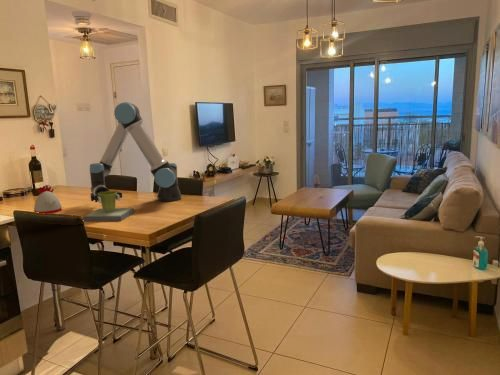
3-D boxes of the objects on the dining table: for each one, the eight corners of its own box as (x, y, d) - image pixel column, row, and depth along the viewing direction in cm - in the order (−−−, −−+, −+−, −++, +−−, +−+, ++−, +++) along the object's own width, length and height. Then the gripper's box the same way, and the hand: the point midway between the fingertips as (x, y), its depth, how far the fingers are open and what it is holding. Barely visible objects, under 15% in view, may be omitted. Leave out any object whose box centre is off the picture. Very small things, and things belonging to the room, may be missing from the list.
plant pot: (118, 210, 192) (116, 193, 191) (98, 211, 189) (97, 195, 188) (118, 206, 201) (117, 190, 200) (100, 207, 198) (98, 192, 197)
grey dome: (31, 211, 212) (28, 186, 209) (57, 207, 221) (54, 182, 219) (38, 215, 202) (35, 188, 199) (65, 211, 211) (62, 185, 209)
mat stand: (134, 212, 204) (134, 207, 204) (121, 220, 186) (120, 215, 186) (99, 212, 206) (98, 208, 205) (83, 221, 188) (82, 216, 187)
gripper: (121, 196, 215) (131, 203, 196) (82, 201, 205) (88, 209, 186) (120, 184, 214) (130, 189, 195) (80, 188, 203) (86, 194, 184)
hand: (109, 199), depth 190 cm, fingers closed on plant pot, 8 cm apart
